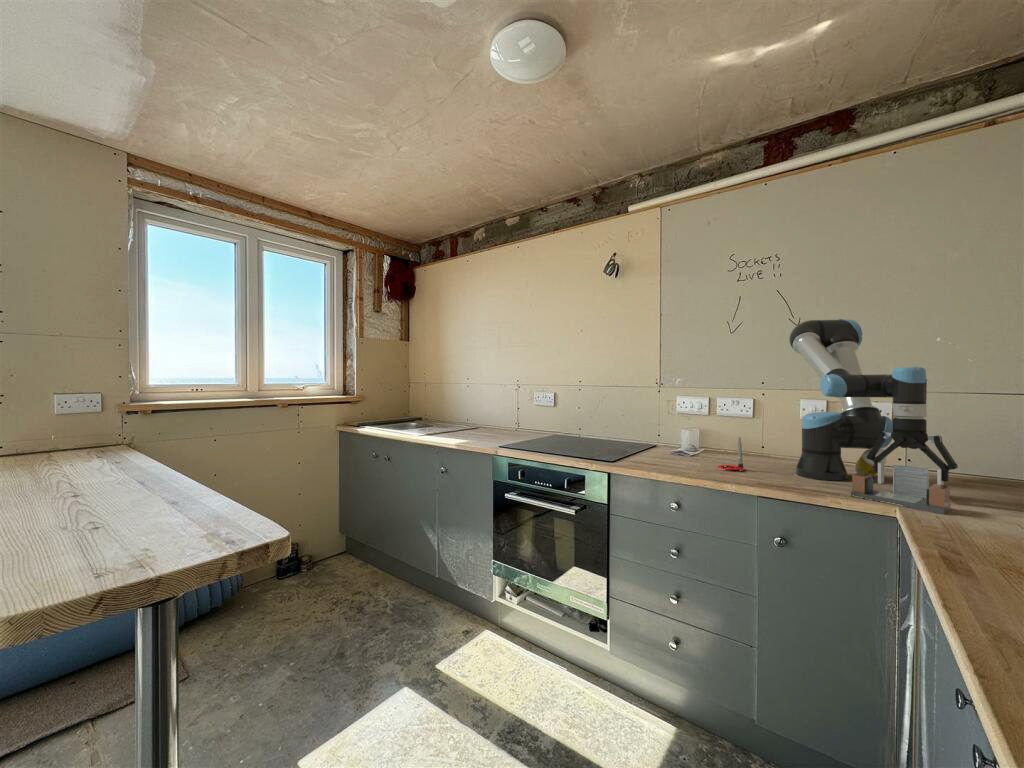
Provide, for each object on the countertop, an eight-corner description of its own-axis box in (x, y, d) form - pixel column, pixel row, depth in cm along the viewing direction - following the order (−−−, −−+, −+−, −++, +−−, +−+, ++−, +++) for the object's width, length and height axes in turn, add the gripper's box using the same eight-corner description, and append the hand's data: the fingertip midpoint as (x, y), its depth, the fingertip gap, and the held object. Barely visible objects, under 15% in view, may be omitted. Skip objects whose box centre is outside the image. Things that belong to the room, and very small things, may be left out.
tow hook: (716, 471, 165) (743, 472, 160) (714, 438, 165) (741, 438, 160) (717, 467, 172) (743, 468, 167) (716, 435, 172) (741, 436, 168)
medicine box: (928, 496, 128) (928, 468, 128) (928, 500, 125) (929, 470, 125) (893, 491, 133) (893, 464, 133) (892, 494, 130) (893, 467, 130)
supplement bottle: (863, 481, 153) (876, 463, 144) (849, 466, 158) (861, 447, 148) (880, 475, 153) (895, 457, 144) (866, 460, 158) (879, 441, 148)
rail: (850, 496, 128) (851, 475, 128) (860, 492, 133) (860, 471, 133) (943, 514, 112) (943, 490, 112) (950, 508, 116) (951, 485, 116)
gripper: (854, 415, 137) (854, 480, 137) (964, 421, 116) (965, 498, 116) (863, 414, 141) (863, 478, 141) (972, 420, 120) (972, 494, 120)
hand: (909, 487), depth 128 cm, fingers open, 13 cm apart
